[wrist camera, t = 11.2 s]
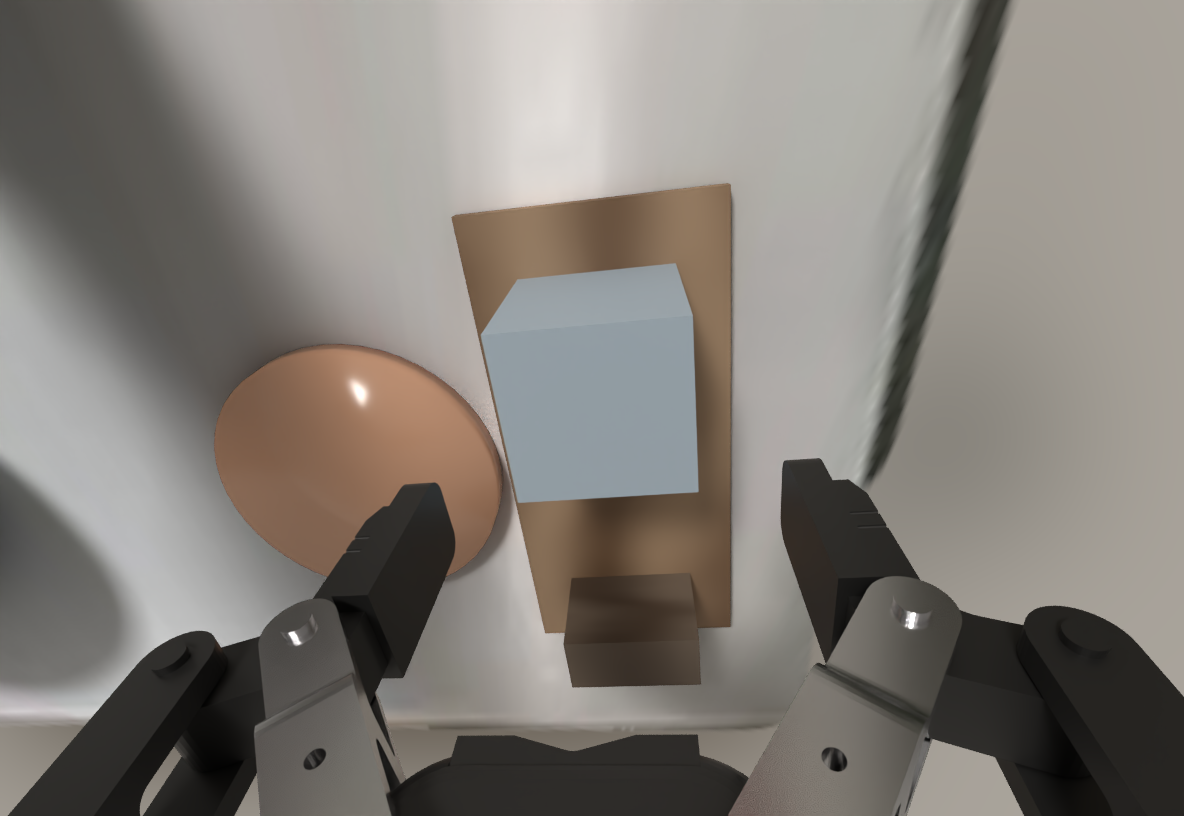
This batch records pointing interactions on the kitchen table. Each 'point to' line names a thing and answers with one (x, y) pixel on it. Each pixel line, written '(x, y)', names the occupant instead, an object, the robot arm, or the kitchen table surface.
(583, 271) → the walnut strip
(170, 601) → the kitchen table surface
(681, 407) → the slate cube
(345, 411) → the terracotta saucer
